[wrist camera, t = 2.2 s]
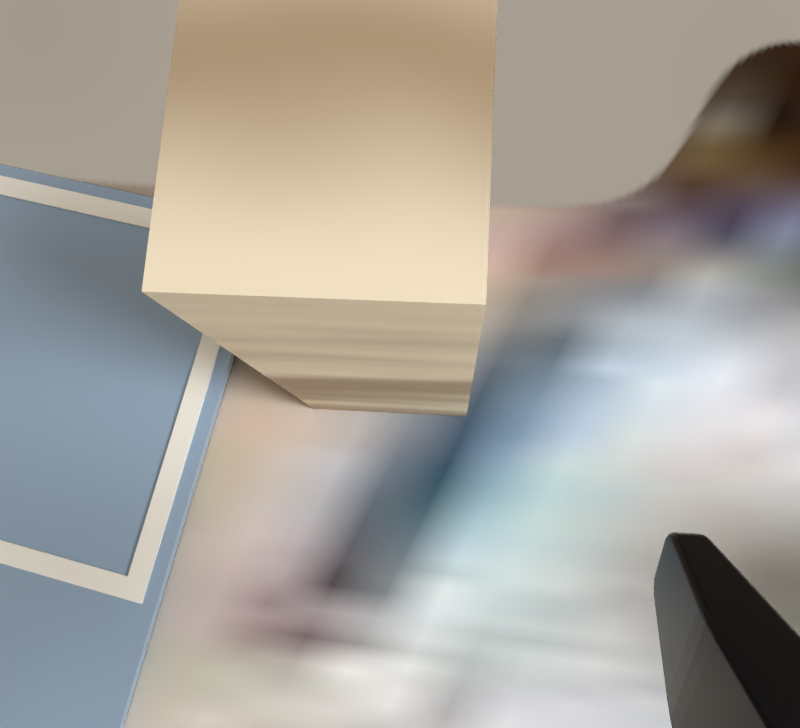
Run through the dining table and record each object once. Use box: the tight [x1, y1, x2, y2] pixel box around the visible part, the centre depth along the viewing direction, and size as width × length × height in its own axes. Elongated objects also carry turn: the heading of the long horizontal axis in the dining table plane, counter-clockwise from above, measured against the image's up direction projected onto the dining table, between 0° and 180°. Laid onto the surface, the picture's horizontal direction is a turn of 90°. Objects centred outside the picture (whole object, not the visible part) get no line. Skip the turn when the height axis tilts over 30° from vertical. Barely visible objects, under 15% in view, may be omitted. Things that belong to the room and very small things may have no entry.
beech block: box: [142, 0, 497, 416], centre depth 16 cm, size 4×4×12 cm
